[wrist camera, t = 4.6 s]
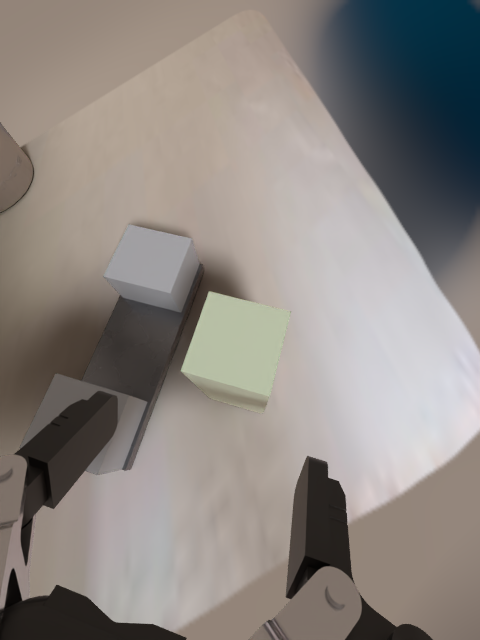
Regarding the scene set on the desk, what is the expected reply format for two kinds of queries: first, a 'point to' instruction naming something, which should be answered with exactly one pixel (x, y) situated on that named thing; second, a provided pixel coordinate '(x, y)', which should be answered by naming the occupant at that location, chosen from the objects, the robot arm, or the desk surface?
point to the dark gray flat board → (138, 353)
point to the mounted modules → (139, 285)
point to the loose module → (236, 351)
